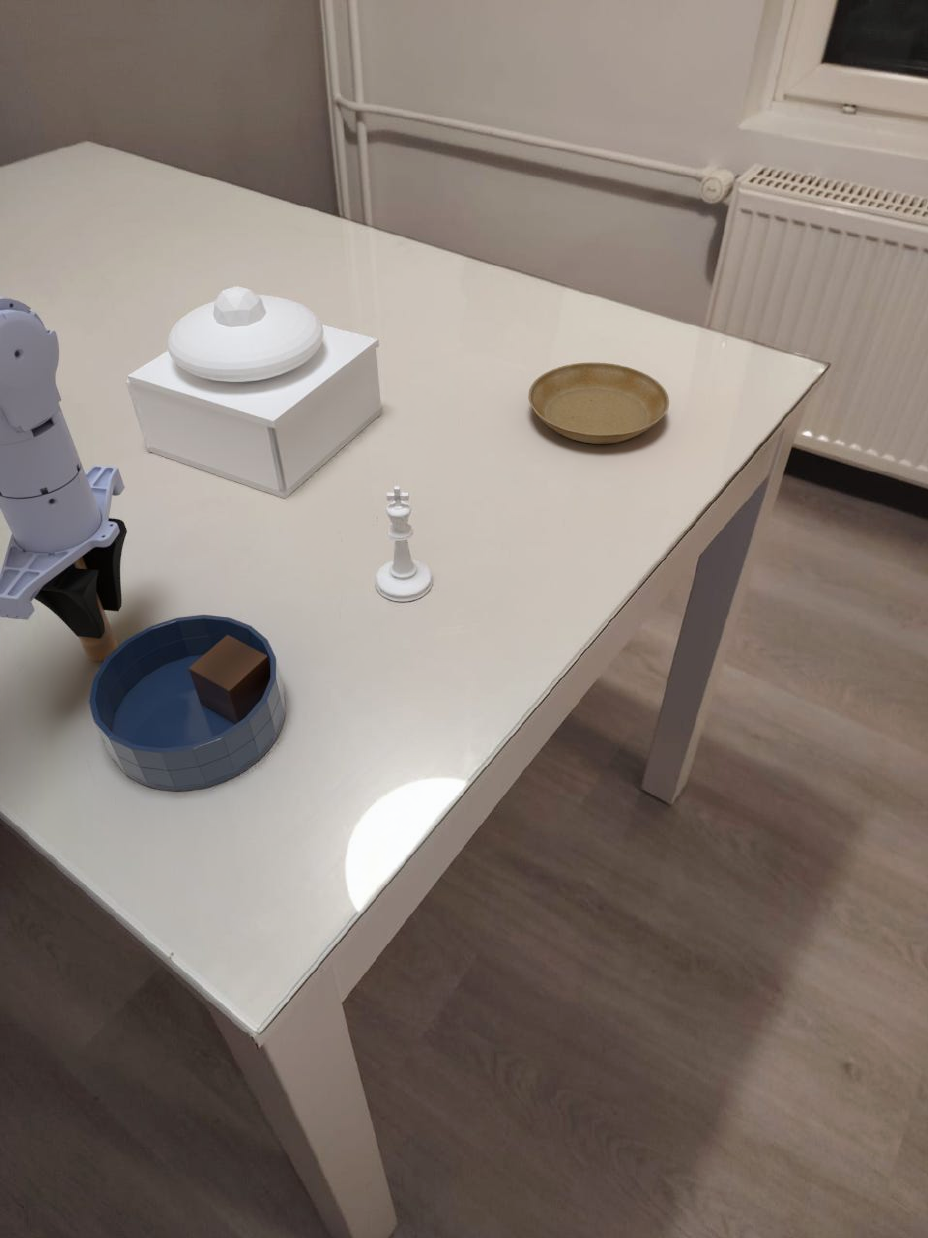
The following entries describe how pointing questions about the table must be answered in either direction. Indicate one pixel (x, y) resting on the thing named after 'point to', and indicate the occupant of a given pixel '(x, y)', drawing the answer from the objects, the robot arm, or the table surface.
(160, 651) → the bowl
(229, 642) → the block
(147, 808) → the table surface
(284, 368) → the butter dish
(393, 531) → the chess piece
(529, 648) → the table surface
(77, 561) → the rod
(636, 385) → the plant saucer
